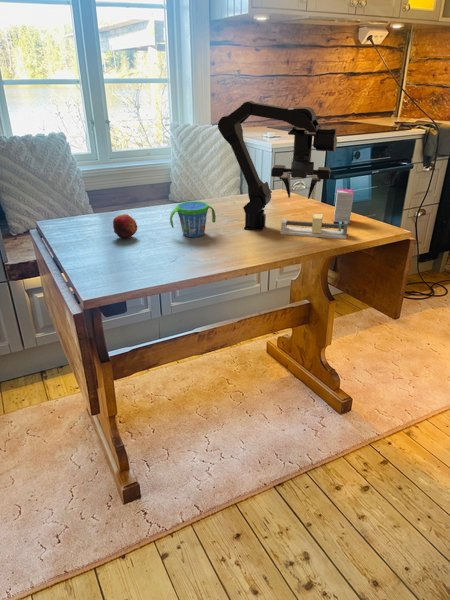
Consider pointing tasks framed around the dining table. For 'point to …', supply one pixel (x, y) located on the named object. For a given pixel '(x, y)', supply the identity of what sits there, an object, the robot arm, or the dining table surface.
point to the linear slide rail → (308, 231)
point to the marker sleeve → (317, 223)
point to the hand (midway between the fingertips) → (299, 198)
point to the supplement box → (343, 206)
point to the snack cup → (192, 217)
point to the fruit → (124, 226)
